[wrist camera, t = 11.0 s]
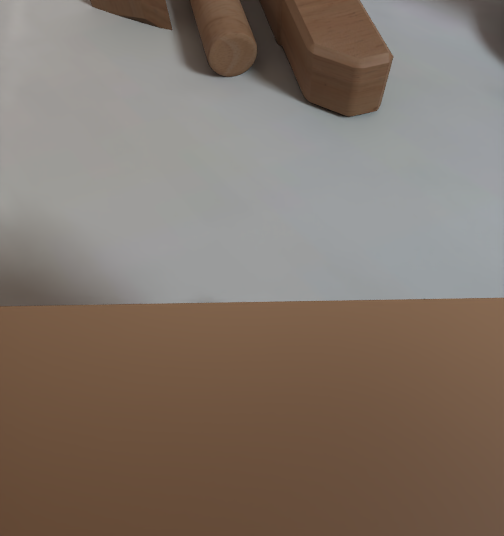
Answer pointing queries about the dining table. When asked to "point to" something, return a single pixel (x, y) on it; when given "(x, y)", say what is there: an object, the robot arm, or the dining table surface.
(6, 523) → the walnut column
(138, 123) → the dining table surface
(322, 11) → the wooden block set
